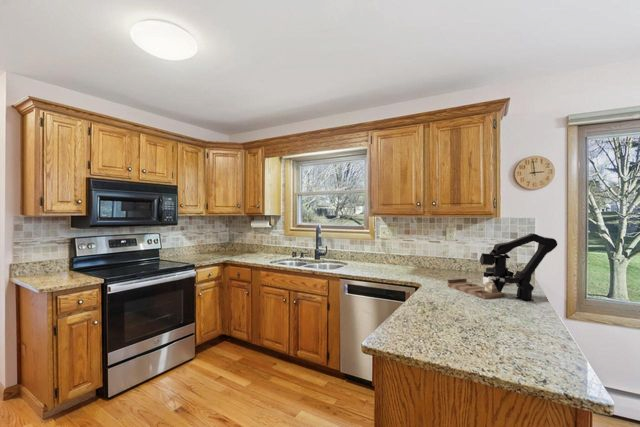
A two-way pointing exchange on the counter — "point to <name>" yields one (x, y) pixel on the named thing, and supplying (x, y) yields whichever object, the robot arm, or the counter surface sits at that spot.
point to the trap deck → (473, 289)
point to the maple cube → (490, 287)
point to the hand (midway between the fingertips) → (499, 292)
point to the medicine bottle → (485, 279)
